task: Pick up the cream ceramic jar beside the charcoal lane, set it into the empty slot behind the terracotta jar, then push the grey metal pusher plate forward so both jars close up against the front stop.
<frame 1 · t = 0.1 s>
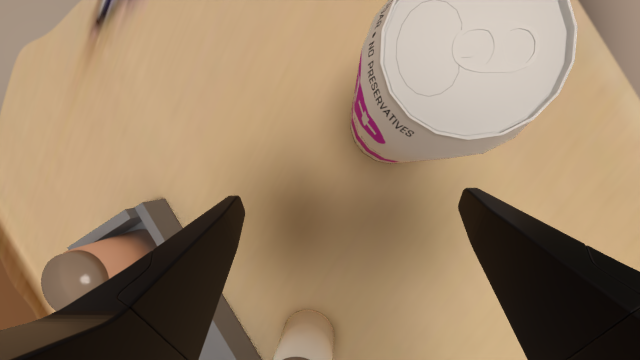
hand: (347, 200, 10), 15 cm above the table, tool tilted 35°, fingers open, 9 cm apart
supplement can: (390, 123, 24), on the table
cream jar: (308, 334, 26), on the table
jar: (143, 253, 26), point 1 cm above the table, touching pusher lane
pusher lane: (186, 309, 27), on the table
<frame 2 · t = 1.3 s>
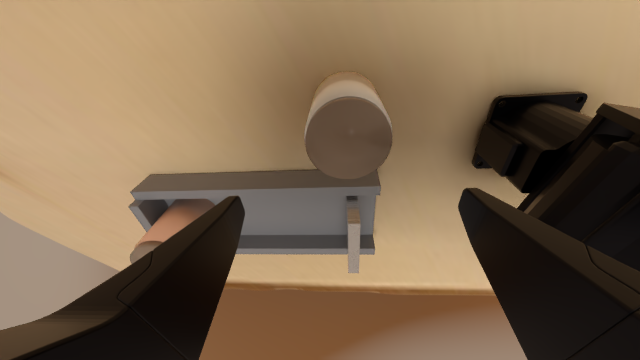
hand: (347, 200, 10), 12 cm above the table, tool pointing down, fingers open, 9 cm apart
pusher plate: (352, 229, 23), point 4 cm above the table, slide at 0.0 cm
cream jar: (344, 106, 20), on the table
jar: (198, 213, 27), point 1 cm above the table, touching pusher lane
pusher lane: (267, 206, 27), on the table
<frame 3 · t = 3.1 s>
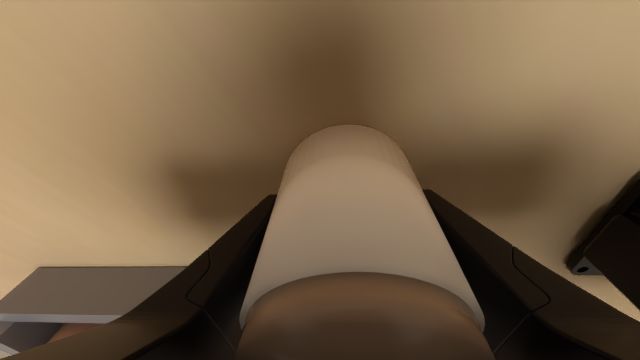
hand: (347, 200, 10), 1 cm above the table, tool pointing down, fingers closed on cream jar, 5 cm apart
cream jar: (345, 182, 11), on the table, touching gripper
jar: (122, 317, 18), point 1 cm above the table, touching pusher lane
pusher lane: (228, 304, 18), on the table
when the fingers open (4 cm above the table, at t = 7.2 s): cream jar drops 2 cm, resting on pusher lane.
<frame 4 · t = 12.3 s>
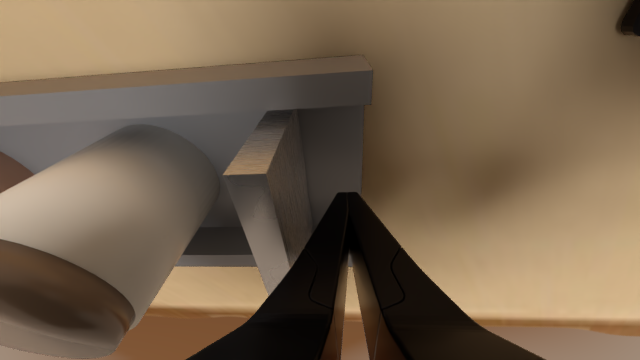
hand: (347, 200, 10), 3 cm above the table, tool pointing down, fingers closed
pusher plate: (286, 210, 9), point 4 cm above the table, slide at 0.7 cm, touching gripper
cream jar: (165, 175, 12), point 1 cm above the table, touching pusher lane
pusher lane: (141, 167, 13), on the table
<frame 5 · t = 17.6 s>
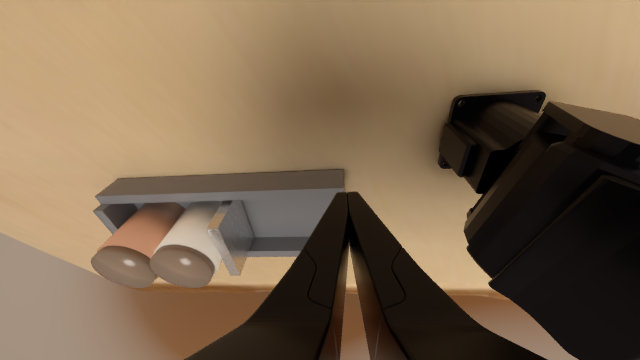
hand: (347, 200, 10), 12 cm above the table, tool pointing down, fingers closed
pusher plate: (234, 233, 24), point 4 cm above the table, slide at 8.7 cm
cream jar: (214, 215, 26), point 1 cm above the table, touching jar, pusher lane
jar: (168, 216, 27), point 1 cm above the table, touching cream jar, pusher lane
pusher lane: (238, 208, 27), on the table
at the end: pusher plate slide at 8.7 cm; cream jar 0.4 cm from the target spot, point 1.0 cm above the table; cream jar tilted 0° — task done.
